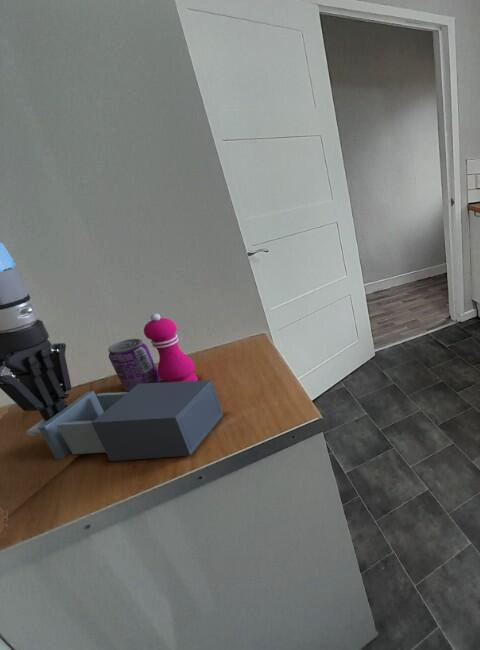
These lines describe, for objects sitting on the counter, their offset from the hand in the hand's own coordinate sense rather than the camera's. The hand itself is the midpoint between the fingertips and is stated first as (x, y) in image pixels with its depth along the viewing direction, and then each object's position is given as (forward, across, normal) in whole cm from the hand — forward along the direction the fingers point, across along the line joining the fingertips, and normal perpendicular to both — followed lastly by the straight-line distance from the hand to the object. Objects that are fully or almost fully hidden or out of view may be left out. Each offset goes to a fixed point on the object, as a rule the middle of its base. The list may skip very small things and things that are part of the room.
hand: (64, 428), depth 83 cm
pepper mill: (+4, +20, -10) cm, 23 cm away
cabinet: (+3, 0, -19) cm, 19 cm away
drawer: (+3, 0, -6) cm, 7 cm away
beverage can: (+4, +20, -1) cm, 20 cm away
